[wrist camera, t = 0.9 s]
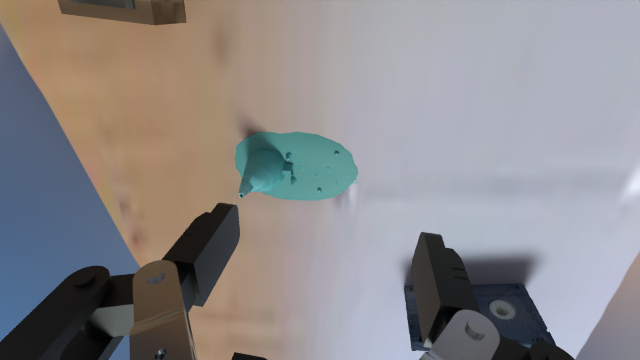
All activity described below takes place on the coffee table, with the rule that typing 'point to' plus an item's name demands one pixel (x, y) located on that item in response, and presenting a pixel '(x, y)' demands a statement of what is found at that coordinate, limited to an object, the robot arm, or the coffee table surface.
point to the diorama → (294, 166)
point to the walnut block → (128, 10)
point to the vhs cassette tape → (493, 314)
